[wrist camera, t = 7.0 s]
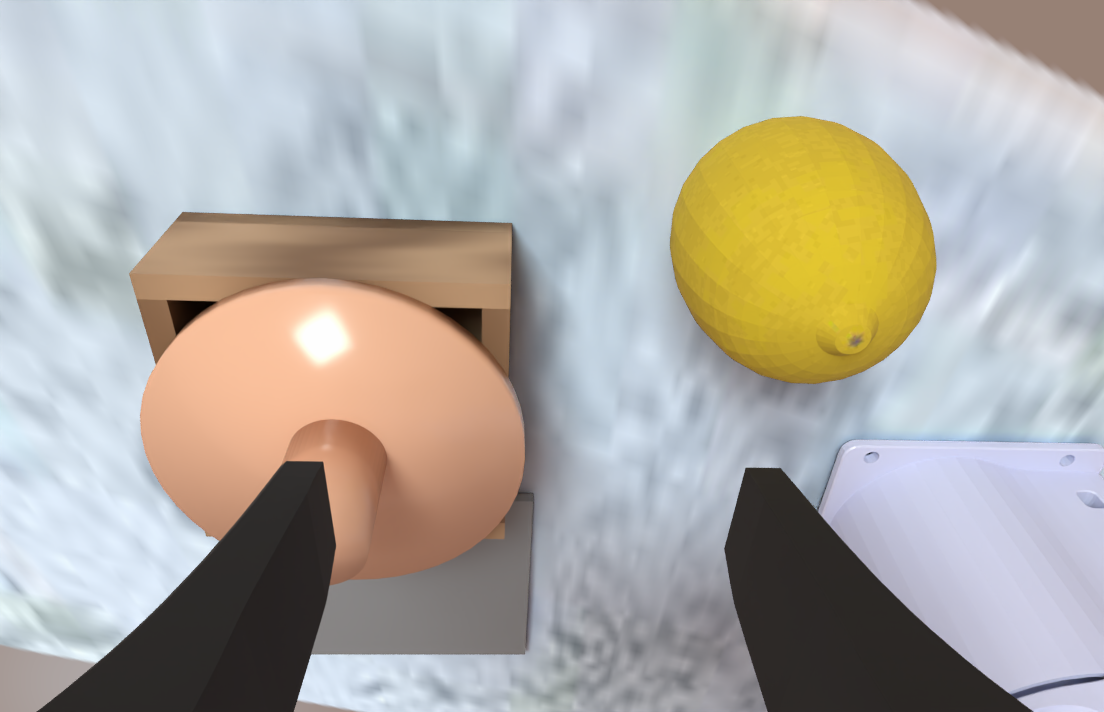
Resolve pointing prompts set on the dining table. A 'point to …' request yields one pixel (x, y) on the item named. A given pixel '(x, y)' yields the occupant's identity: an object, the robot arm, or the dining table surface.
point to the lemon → (802, 250)
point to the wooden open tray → (330, 268)
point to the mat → (440, 602)
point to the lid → (339, 419)
